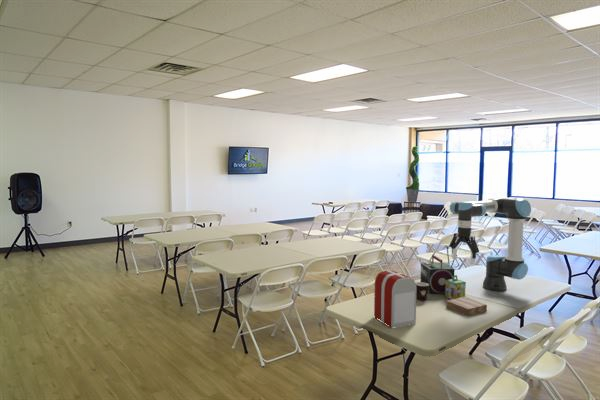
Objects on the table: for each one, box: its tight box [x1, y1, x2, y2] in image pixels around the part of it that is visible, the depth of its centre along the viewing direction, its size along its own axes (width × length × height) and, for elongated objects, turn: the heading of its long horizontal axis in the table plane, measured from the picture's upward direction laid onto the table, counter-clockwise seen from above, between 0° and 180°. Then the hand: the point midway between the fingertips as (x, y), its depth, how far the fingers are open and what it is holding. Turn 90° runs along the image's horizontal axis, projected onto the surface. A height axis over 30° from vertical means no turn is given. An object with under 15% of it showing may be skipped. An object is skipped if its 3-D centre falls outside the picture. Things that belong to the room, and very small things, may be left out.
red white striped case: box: [373, 269, 417, 329], centre depth 220 cm, size 16×18×27 cm
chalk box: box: [444, 274, 467, 300], centre depth 258 cm, size 9×9×15 cm
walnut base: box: [445, 296, 488, 317], centre depth 238 cm, size 16×16×4 cm
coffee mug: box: [415, 281, 429, 302], centre depth 256 cm, size 12×9×10 cm
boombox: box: [419, 245, 458, 295], centre depth 274 cm, size 18×21×30 cm
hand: (463, 261), depth 242 cm, fingers open, 13 cm apart
